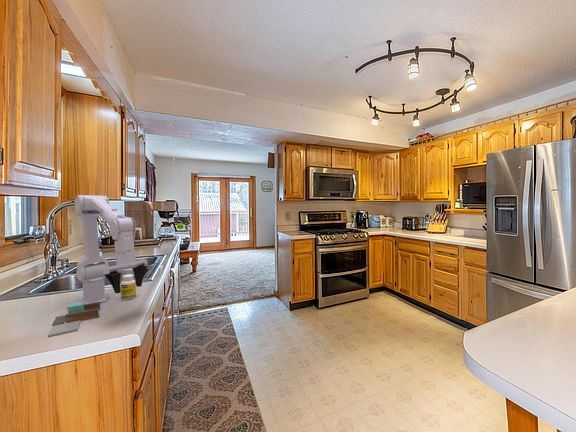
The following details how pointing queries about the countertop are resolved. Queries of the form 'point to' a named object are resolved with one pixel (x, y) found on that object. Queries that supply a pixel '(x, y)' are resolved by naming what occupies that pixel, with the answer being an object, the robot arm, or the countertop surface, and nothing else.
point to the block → (76, 307)
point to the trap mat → (59, 320)
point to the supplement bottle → (128, 287)
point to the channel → (84, 313)
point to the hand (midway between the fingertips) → (128, 289)
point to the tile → (64, 328)
